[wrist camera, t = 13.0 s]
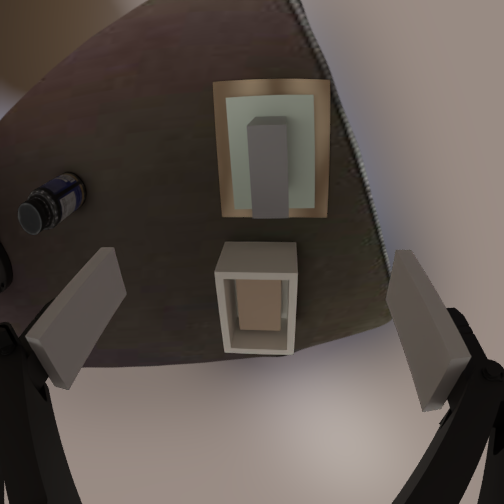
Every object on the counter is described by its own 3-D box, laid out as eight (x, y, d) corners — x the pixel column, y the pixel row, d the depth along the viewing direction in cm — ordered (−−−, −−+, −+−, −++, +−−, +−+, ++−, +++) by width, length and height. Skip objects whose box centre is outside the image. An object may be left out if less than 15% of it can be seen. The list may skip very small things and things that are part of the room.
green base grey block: (236, 203, 43) (222, 242, 33) (228, 97, 36) (208, 101, 26) (313, 202, 42) (321, 241, 32) (312, 94, 35) (322, 97, 25)
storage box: (232, 317, 53) (224, 352, 46) (225, 241, 46) (214, 271, 39) (293, 319, 52) (293, 354, 45) (296, 242, 45) (297, 273, 38)
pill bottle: (51, 186, 44) (8, 213, 35) (71, 163, 42) (25, 188, 33) (72, 215, 47) (32, 247, 37) (94, 194, 45) (52, 225, 35)
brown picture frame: (222, 215, 44) (222, 217, 44) (213, 81, 36) (212, 81, 35) (326, 215, 43) (326, 217, 42) (329, 80, 34) (329, 79, 34)
